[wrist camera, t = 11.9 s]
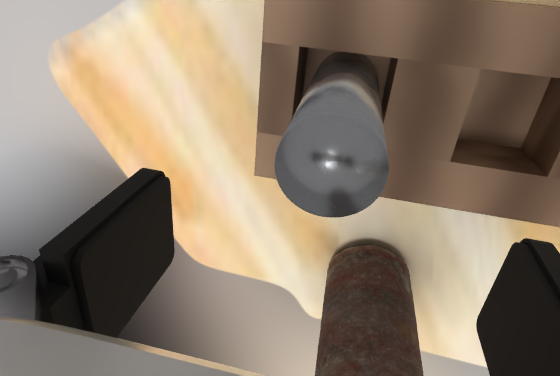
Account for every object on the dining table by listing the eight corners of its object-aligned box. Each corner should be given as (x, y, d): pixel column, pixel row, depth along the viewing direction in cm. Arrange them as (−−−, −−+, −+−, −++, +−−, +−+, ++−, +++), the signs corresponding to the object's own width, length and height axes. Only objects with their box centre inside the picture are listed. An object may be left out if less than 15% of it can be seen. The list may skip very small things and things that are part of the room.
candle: (346, 223, 34) (325, 473, 17) (424, 252, 34) (484, 534, 17) (317, 282, 38) (276, 534, 21) (387, 309, 38) (404, 585, 21)
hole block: (607, 11, 23) (675, 20, 18) (528, 183, 29) (563, 227, 24) (285, -21, 26) (265, -21, 21) (272, 143, 32) (254, 175, 27)
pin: (384, 53, 26) (401, 123, 14) (370, 117, 28) (375, 225, 16) (318, 46, 26) (278, 106, 14) (310, 108, 28) (270, 207, 16)
